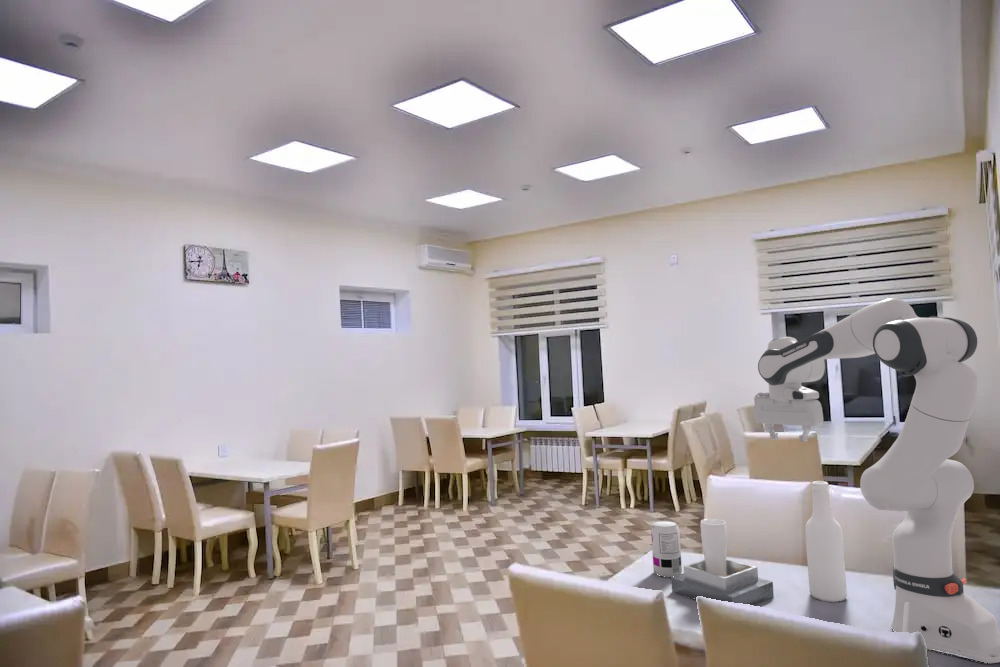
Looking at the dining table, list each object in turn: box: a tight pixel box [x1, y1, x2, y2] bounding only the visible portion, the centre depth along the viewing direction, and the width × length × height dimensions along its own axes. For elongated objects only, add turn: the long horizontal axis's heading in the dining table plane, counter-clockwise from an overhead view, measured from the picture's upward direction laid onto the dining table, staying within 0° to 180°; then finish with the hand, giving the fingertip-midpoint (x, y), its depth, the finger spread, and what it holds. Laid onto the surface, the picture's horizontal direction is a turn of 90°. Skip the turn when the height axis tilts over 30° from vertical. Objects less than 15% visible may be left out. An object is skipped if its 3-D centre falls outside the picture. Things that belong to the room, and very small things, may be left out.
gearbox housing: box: [670, 558, 775, 606], centre depth 175 cm, size 20×17×8 cm
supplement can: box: [650, 520, 683, 578], centre depth 194 cm, size 8×8×15 cm
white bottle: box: [804, 480, 848, 603], centre depth 171 cm, size 9×9×30 cm
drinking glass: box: [700, 518, 728, 577], centre depth 177 cm, size 7×7×15 cm
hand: (788, 440), depth 188 cm, fingers open, 8 cm apart
